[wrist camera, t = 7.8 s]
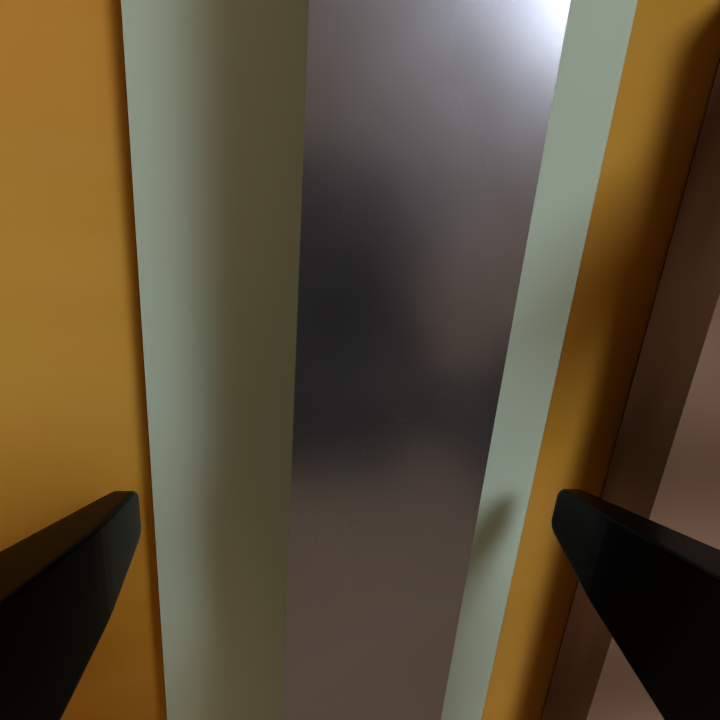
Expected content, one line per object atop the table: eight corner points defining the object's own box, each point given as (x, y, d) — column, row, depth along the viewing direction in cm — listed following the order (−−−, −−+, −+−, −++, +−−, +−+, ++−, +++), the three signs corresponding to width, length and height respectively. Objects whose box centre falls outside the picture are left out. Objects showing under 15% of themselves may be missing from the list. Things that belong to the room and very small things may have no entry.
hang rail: (375, 812, 13) (394, 973, 10) (279, 824, 13) (271, 996, 10) (506, -175, 7) (661, -498, 4) (320, -221, 6) (332, -622, 3)
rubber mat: (453, 802, 14) (458, 822, 14) (180, 836, 13) (176, 859, 12) (657, -179, 7) (683, -209, 7) (114, -322, 6) (96, -372, 5)
